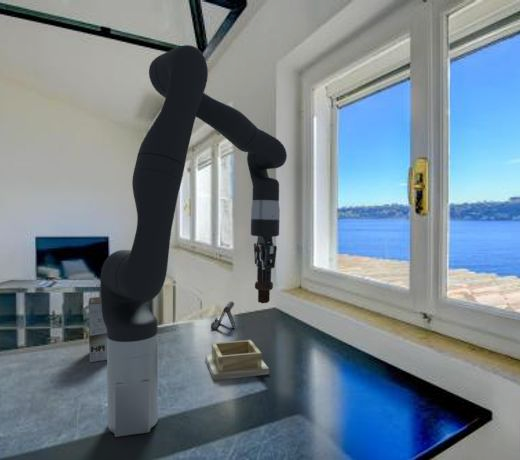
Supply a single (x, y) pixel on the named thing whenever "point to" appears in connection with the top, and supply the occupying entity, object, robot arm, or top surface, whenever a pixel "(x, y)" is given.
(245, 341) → the board
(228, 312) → the portable electronic device stand
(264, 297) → the bolt
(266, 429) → the top surface
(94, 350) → the coffee box
